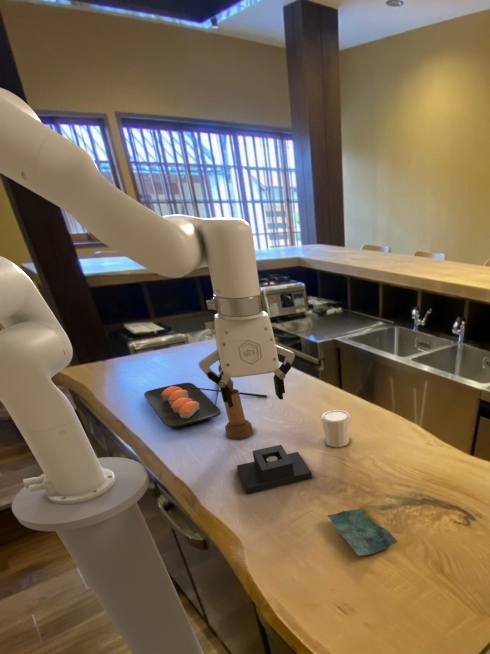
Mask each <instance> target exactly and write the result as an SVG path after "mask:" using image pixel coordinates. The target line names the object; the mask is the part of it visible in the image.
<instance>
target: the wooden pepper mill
mask: <svg viewBox="0 0 490 654" xmlns="http://www.w3.org/2000/svg"><path fill="white" fill-rule="evenodd" d="M221 370H222V368H221V366H220V364H219V365H218V370H217V371H218V372H219V373H220V372H221ZM227 384H228V386H229V388H230V393H231V398H232V403H233V406H232V407H230V408H229V406H228V403H227V402H224V401H223V403H224V408H225V411H226V415H227V419H228V422H227V424H225V426H224V429H225V433H226V436H227V438H229V439H231V440H242V439H247V438H248V437H250V436H252V434H253V433H254V431H253V424H252V422H250V421H249V420H248V419H246V418H245V413H244V408H243V404H242V400H241V394H239V392H240V391H239V389H237V388H234V381H233V380H232V377H231V378H230V379H229V381H228V383H227Z"/></svg>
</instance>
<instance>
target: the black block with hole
mask: <svg viewBox="0 0 490 654" xmlns="http://www.w3.org/2000/svg"><path fill="white" fill-rule="evenodd" d="M251 452H252V457H253V462H255V464H256V466H257V468H258V470H259V472H260V475H261V477H262V479H263V481H264V482H269V481H273V480H277V479H281V478H285V477H289V476H293V475H294V469H293V463H292V462H291V460H290V458H289V457H288V455H287V454H288V453H287V452H286V450H285V448H284V446H283V445H282V444H278V445H273V446H269V447H264V448H259V449H254V450H252V451H251ZM270 456H275V457H277V458H278V460H276V461H272V462H267V461H266V459H267V458H268V457H270Z"/></svg>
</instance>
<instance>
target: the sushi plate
mask: <svg viewBox="0 0 490 654" xmlns="http://www.w3.org/2000/svg"><path fill="white" fill-rule="evenodd" d="M203 391H211V392H216V394H215V401H212V400H211V399H210V398H209V397H208V396H207V395H206V394H205V393H204V392H203ZM219 393H221V389H220V386H219V385H218V384H216V389H211V388H204V387H203V388H202V387H198V386H197V385H195V384H194V383H192V382H181V383H176V384H171V385H167V386H162V387H158V388H153V389H150V390H149V389H148V390H146V391H145V392H144V393H143V396H144V398H145V399H146V401H147V402H148V404H149V405H150V407H151V408H152V409H153V411H154V412H155V413H156V414H157V416H158V417H159V418H160V420H161V421H162V423H164V425H165V426H167V427H168V428H169V427H170V428H177V427H178V428H179V427H183V426H189V425H194V424H197V423H202V422H204V421H206V420H210V419H213V418H217V417H219V416H220V415H221V413H222V411H221V409H220V408H219V407H218V406H217V403H218V398H219V397H218V395H219ZM239 395H240V396H249V397H258V398H264V399H265V398H267V394H262V393H252V392H251V393H250V392H241V391H239Z"/></svg>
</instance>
